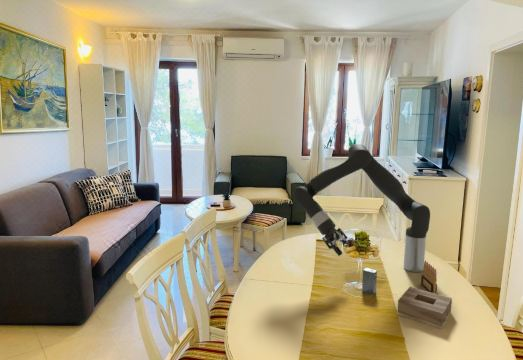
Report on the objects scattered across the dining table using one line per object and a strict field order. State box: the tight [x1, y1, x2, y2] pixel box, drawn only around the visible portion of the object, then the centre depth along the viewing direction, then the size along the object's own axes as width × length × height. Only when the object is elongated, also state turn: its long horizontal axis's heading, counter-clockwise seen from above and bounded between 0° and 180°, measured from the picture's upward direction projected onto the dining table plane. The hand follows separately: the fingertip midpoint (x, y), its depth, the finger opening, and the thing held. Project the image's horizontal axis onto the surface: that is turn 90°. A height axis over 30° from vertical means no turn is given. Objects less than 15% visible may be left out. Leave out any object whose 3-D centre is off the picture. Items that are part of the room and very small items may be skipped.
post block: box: [396, 286, 453, 329], centre depth 148 cm, size 14×16×6 cm
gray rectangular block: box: [361, 267, 378, 295], centre depth 165 cm, size 3×5×10 cm, turn 52°
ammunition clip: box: [420, 259, 438, 294], centre depth 166 cm, size 11×2×12 cm, turn 3°
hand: (345, 251), depth 170 cm, fingers open, 8 cm apart
